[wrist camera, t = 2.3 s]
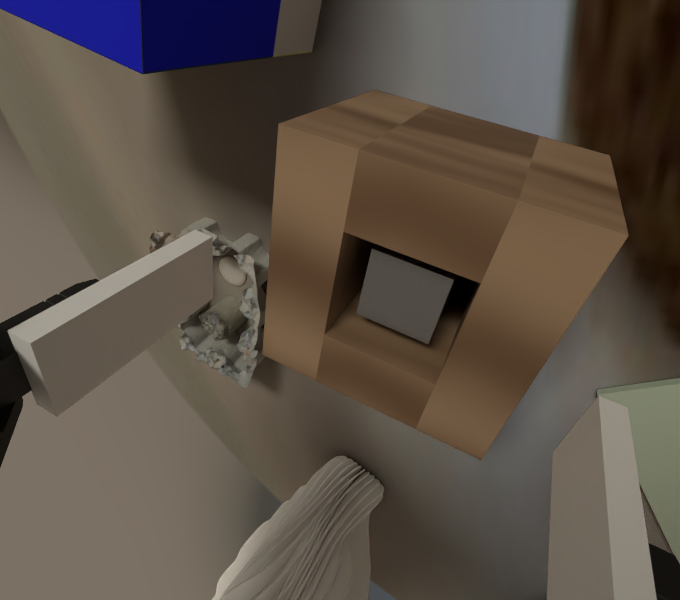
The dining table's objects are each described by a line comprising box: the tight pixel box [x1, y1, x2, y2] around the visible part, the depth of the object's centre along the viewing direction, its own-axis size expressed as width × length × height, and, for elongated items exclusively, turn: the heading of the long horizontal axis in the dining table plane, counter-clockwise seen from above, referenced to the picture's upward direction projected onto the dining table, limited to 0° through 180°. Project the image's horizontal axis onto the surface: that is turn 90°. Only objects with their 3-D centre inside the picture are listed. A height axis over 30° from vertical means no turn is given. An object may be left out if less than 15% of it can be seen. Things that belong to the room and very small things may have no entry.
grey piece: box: [149, 217, 269, 389], centre depth 28 cm, size 11×8×4 cm
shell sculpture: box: [212, 456, 384, 600], centre depth 28 cm, size 8×8×18 cm
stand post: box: [356, 244, 460, 344], centre depth 18 cm, size 3×3×7 cm
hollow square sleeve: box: [262, 90, 629, 460], centre depth 18 cm, size 10×10×8 cm
